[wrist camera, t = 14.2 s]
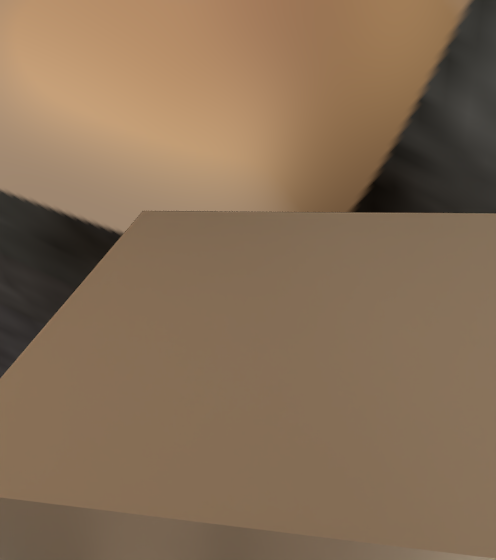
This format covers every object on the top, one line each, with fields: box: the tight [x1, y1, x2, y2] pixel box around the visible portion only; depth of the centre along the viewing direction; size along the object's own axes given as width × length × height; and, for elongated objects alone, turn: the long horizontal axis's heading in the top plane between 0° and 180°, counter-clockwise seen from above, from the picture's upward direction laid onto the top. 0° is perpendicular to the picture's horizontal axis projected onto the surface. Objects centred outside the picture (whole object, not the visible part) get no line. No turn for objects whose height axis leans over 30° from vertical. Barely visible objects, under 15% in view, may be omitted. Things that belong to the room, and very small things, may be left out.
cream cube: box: [0, 211, 496, 560], centre depth 8 cm, size 8×8×7 cm
